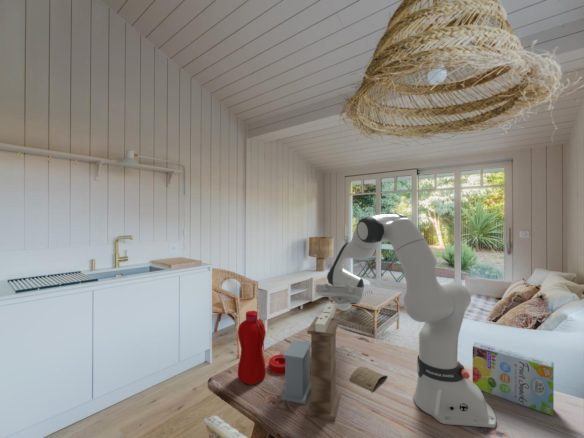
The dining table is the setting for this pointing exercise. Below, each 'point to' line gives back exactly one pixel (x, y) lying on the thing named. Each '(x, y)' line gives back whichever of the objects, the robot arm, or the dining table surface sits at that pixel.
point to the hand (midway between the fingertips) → (336, 286)
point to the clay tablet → (365, 378)
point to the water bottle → (251, 349)
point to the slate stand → (297, 372)
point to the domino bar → (325, 318)
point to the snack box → (514, 377)
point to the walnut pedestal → (323, 372)
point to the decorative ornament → (277, 364)
